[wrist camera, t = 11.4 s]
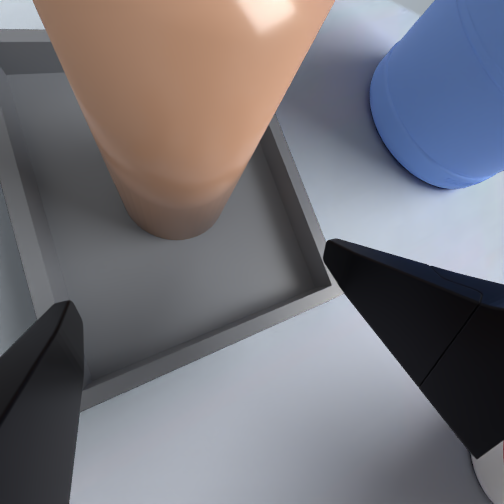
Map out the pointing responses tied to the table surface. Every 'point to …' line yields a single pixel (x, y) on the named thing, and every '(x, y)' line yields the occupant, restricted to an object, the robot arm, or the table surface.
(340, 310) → the table surface
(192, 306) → the grey tray
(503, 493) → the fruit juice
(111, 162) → the peach rounded cylinder
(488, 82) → the water jug
